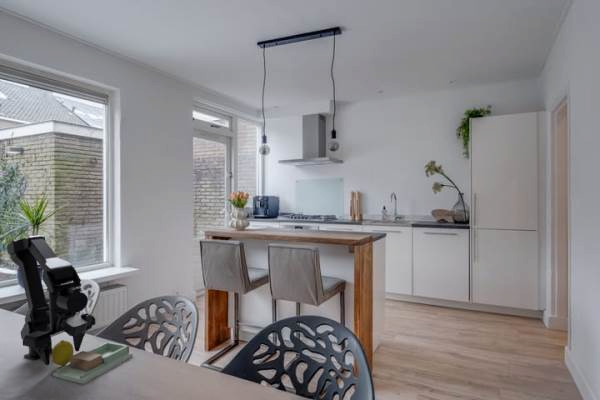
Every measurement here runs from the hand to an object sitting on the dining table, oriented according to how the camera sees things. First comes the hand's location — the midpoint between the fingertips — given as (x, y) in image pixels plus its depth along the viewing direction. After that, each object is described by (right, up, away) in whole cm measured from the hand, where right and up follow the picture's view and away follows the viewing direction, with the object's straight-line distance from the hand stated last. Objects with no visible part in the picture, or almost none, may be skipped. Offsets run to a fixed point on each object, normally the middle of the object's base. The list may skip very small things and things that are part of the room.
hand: (62, 357), depth 107 cm
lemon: (0, -3, 0) cm, 3 cm away
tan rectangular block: (+9, -1, -3) cm, 9 cm away
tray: (+10, -2, 0) cm, 10 cm away
